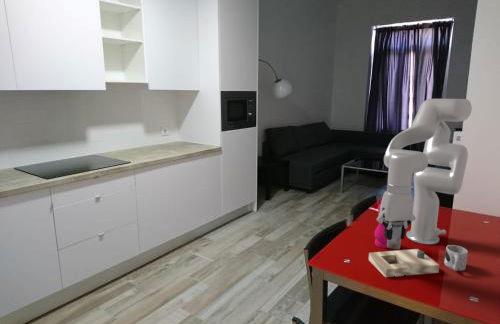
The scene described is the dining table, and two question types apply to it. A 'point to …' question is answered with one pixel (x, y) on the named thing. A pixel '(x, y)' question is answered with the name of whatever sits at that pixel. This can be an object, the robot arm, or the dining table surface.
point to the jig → (403, 262)
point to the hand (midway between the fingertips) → (394, 237)
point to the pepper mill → (380, 234)
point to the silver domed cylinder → (395, 235)
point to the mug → (456, 257)
